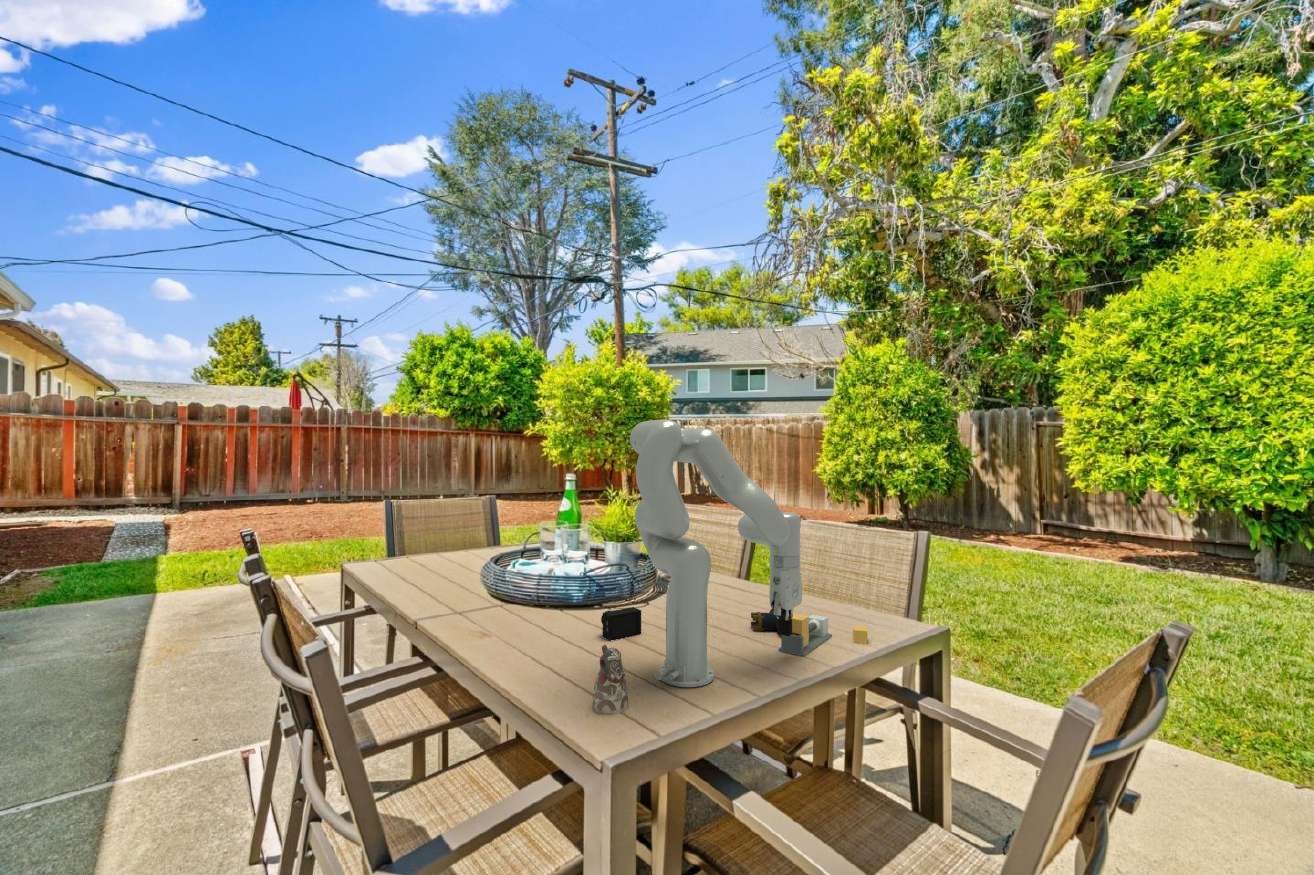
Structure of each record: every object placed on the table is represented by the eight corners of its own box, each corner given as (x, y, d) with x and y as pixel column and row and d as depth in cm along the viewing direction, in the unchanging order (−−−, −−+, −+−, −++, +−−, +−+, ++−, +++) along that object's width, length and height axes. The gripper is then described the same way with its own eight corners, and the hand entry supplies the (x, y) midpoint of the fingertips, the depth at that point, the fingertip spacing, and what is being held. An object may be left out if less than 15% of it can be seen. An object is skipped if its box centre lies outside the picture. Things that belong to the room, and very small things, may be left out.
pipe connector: (756, 619, 162) (748, 605, 177) (756, 638, 162) (747, 622, 177) (797, 620, 162) (785, 606, 178) (797, 639, 162) (785, 623, 177)
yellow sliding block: (802, 648, 150) (801, 620, 150) (786, 645, 153) (786, 617, 153) (808, 644, 153) (808, 616, 154) (792, 640, 156) (792, 613, 156)
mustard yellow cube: (867, 644, 157) (867, 631, 158) (853, 643, 158) (853, 630, 159) (866, 639, 162) (866, 626, 162) (852, 638, 163) (852, 625, 163)
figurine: (604, 717, 114) (604, 656, 114) (586, 704, 120) (586, 646, 120) (634, 708, 118) (634, 648, 118) (616, 696, 124) (616, 639, 124)
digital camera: (631, 629, 170) (631, 605, 170) (641, 634, 165) (641, 609, 165) (600, 636, 164) (600, 611, 164) (610, 641, 159) (610, 615, 159)
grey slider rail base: (804, 656, 148) (804, 636, 148) (778, 650, 152) (778, 630, 152) (832, 636, 164) (832, 617, 164) (808, 631, 168) (808, 613, 168)
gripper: (786, 568, 139) (786, 645, 139) (810, 558, 151) (810, 629, 151) (757, 564, 143) (757, 639, 143) (783, 555, 155) (783, 624, 155)
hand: (784, 634), depth 147 cm, fingers closed
